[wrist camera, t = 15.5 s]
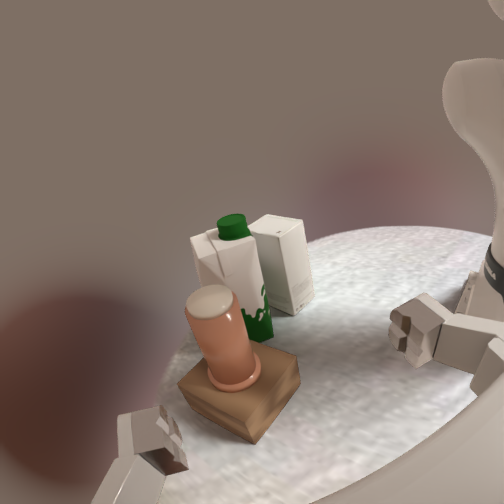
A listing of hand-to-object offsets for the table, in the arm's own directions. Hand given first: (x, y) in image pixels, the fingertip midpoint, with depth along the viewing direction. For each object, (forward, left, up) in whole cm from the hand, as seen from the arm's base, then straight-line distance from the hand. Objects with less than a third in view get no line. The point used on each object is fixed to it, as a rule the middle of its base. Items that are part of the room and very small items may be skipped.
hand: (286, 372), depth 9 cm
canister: (-11, -17, -22) cm, 30 cm away
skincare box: (-32, -23, -28) cm, 48 cm away
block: (-11, -17, -28) cm, 34 cm away
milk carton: (-22, -25, -28) cm, 43 cm away
